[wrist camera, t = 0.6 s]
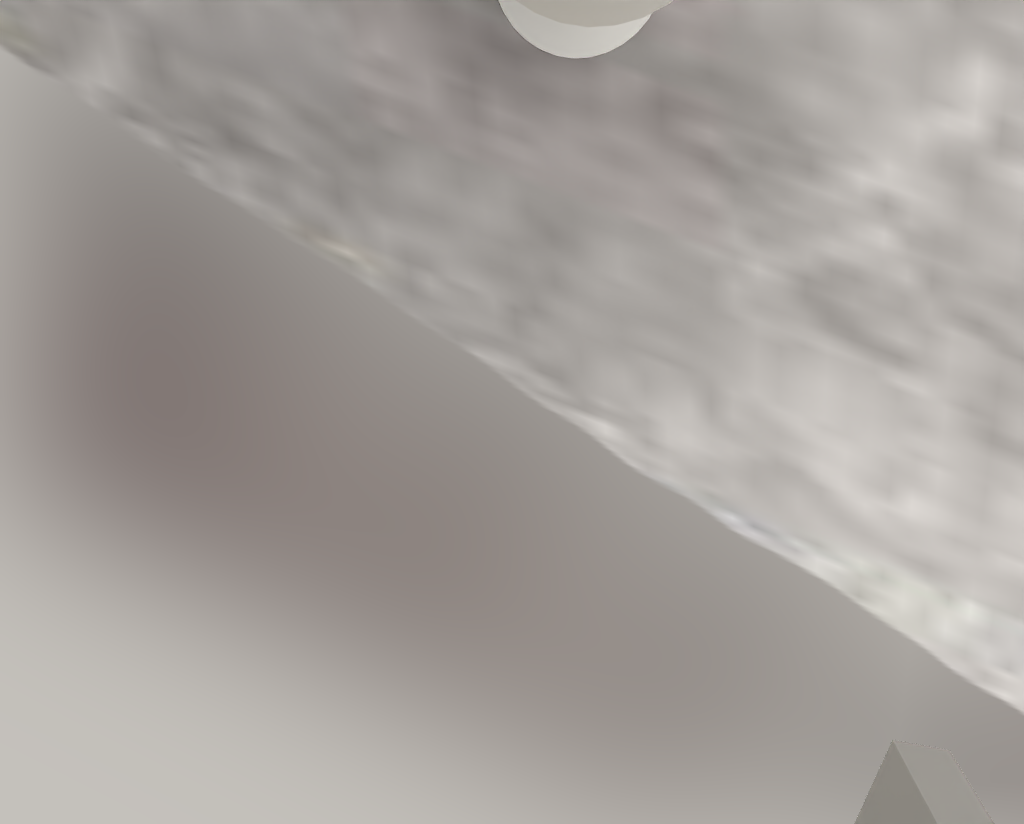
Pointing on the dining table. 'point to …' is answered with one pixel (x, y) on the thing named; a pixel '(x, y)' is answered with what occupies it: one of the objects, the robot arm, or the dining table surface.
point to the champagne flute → (579, 23)
